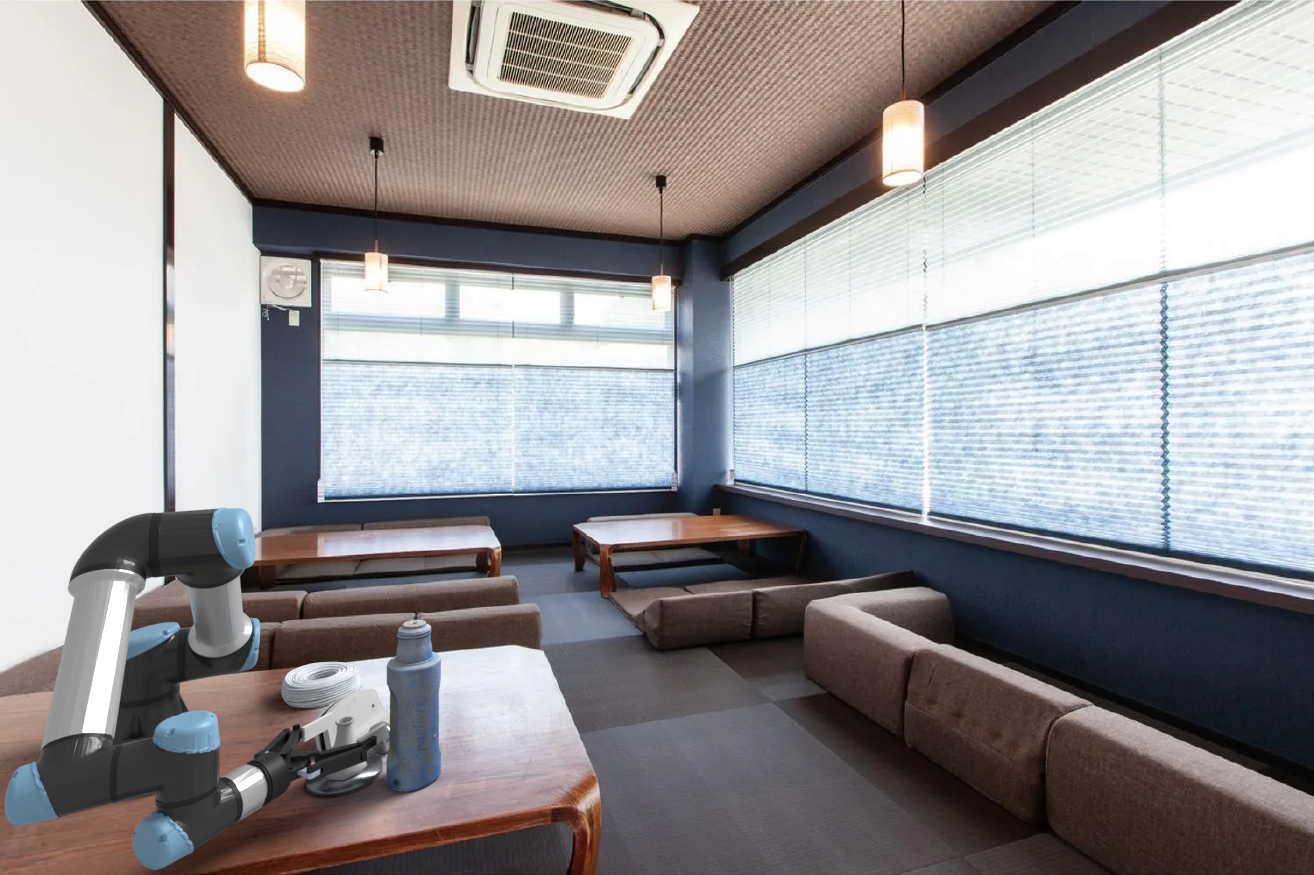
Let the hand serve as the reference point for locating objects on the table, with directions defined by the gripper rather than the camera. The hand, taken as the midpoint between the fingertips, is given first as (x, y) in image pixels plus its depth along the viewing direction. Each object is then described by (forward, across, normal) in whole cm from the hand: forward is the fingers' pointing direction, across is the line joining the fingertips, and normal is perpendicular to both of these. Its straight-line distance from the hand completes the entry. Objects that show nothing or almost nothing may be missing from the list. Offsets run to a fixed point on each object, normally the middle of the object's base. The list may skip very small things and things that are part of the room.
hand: (358, 724), depth 117 cm
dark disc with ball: (+3, 0, -8) cm, 9 cm away
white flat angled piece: (+9, -11, -9) cm, 17 cm away
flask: (-3, 0, -8) cm, 8 cm away
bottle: (+1, +13, -9) cm, 16 cm away
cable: (+22, -35, -9) cm, 43 cm away
